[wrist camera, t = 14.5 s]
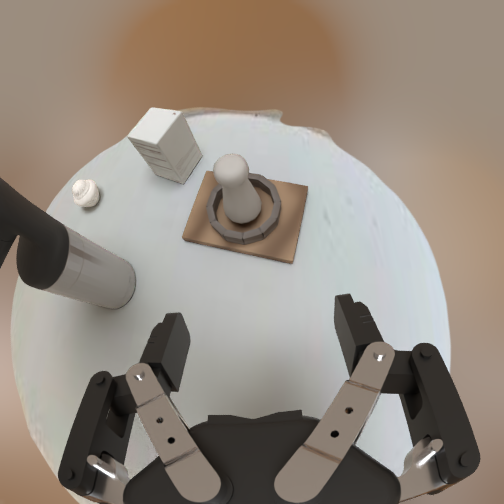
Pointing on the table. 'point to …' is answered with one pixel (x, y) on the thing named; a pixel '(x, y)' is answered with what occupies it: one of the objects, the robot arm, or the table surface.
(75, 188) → the muffin
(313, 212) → the table surface
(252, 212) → the salt shaker
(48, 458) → the table surface
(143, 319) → the table surface
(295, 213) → the socket base
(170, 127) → the supplement box
